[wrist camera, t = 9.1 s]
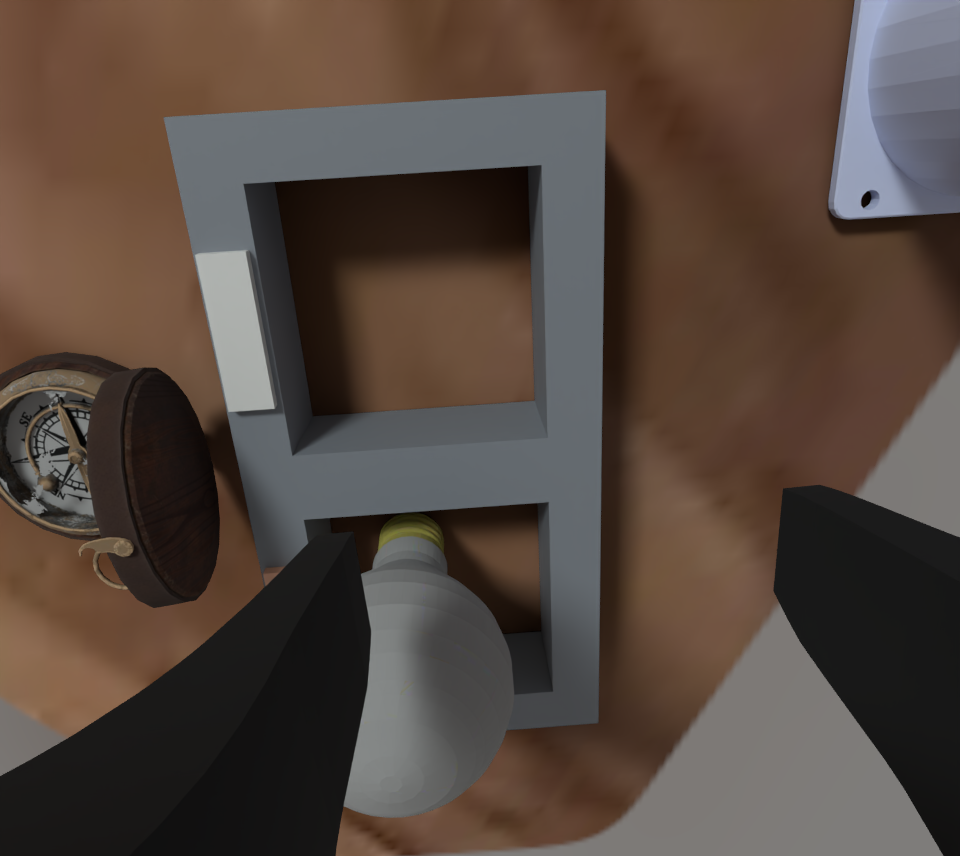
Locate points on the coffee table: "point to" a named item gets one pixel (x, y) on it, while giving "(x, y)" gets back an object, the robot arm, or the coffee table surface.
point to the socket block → (432, 431)
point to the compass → (113, 470)
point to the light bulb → (426, 679)
